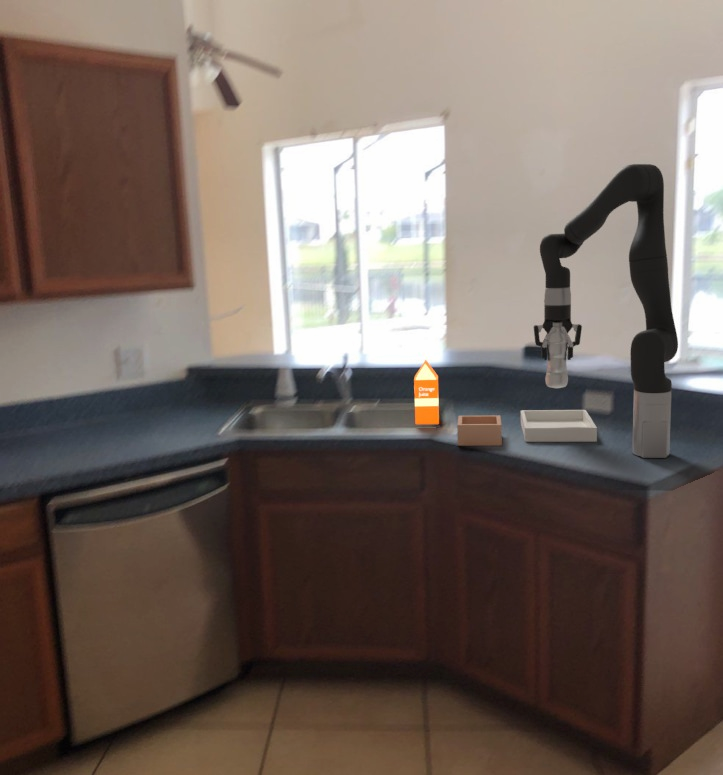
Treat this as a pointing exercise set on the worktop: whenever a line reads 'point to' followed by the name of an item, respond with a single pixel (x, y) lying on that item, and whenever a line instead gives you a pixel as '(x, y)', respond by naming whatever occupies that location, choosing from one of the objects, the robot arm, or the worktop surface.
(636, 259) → the robot arm
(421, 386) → the orange juice
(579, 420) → the plastic tray
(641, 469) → the worktop surface
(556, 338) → the plastic bottle
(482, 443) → the terracotta holder
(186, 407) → the worktop surface
